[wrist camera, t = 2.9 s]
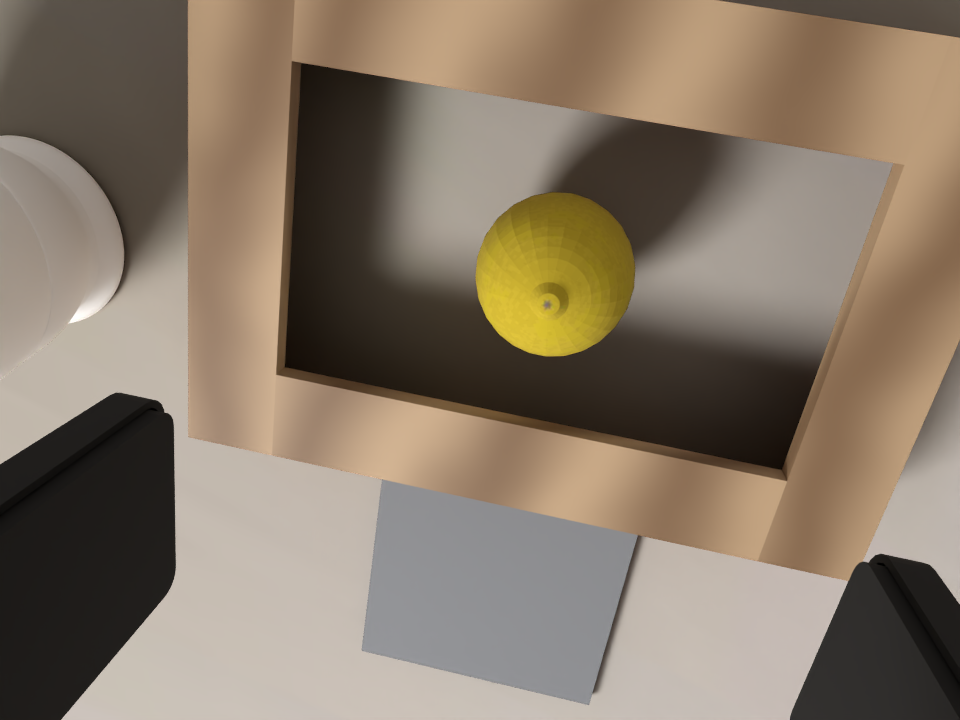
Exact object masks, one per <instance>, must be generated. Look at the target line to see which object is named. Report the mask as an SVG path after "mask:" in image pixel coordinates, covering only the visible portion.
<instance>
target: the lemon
mask: <svg viewBox="0 0 960 720" xmlns="http://www.w3.org/2000/svg"><path fill="white" fill-rule="evenodd" d="M475 278H476V285H477V292H478V298H479V301H480V304H481V306H482V308H483V311H484V313H485V315H486V318H487V319H488V321H489V322H490V323H491V324H492V326H493V327H494V328H495V330H496V331H497V332H498V334H500V335H501V336H502V337H503V338H505V339H506V340H507V341H508V342H509V343H511V344H512V345H514V346H516V347H518V348H520V349H522V350H524V351H526V352H528V353H532V354H537V355H542V356H566V355H570V354H574V353H577V352H581V351H584V350H585V349H587V348H589V347H591V346H593V345H594V344H596V343H598V342H600V341H601V340H602V339H603V338H604V337H605V336H606V335H607V334H608V333H609V332H611V331H612V330H613V329H614V328H615V327H616V325H617V324H618V322H619V320H620V319H621V317H622V316H623V314H624V313H625V311H626V310H627V308H628V304H629V301H630V298H631V295H632V292H633V289H634V278H635V262H634V257H633V252H632V247H631V244H630V242H629V240H628V238H627V236H626V234H625V232H624V230H623V228H622V226H621V225H620V224H619V223H618V222H617V220H616V219H615V218H614V217H613V216H612V215H611V214H610V213H609V212H608V211H607V210H606V209H604V208H603V207H601V206H600V205H598V204H597V203H595V202H594V201H592V200H591V199H588V198H585V197H582V196H579V195H576V194H573V193H559V192H550V193H545V194H540V195H534V196H531V197H529V198H527V199H525V200H523V201H521V202H518V203H516V204H514V205H513V206H512V207H510V208H509V209H508V210H507V211H506V212H505V213H503V214H502V215H501V216H500V217H499V218H498V219H497V220H496V221H495V223H494V224H493V226H492V227H491V228H490V230H489V231H488V233H487V234H486V236H485V238H484V241H483V243H482V246H481V249H480V251H479V254H478V258H477V268H476V277H475Z"/></svg>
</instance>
